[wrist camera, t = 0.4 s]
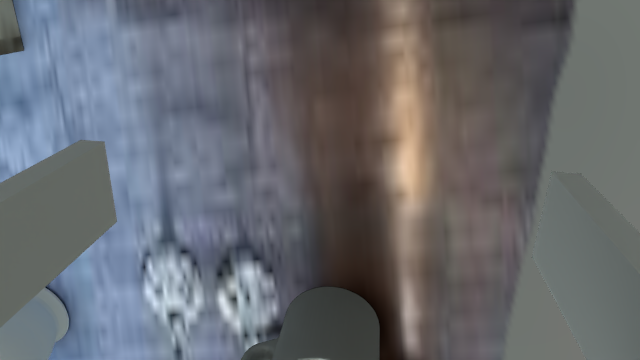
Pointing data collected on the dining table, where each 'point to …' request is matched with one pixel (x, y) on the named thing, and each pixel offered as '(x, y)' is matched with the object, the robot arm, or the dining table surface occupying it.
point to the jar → (34, 329)
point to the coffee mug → (324, 329)
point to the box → (9, 29)
